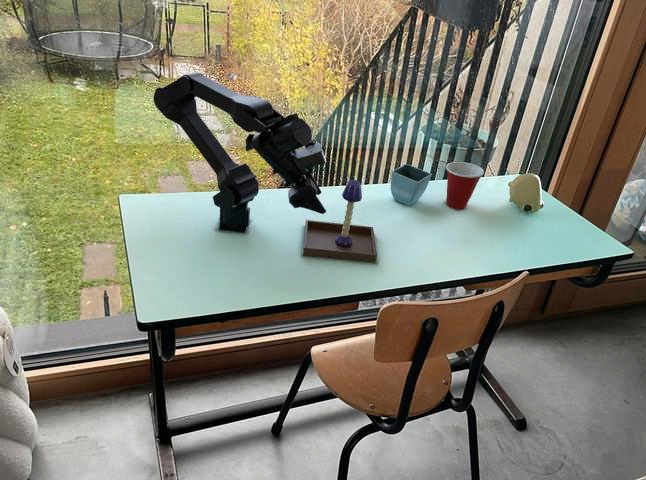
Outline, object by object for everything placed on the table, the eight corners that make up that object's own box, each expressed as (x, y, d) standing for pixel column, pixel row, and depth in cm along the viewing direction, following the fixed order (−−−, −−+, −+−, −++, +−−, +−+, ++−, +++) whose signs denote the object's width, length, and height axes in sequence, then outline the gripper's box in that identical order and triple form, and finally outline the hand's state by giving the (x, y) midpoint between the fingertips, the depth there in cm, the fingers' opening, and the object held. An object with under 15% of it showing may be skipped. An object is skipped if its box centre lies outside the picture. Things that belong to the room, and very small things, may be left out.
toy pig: (507, 218, 173) (531, 211, 163) (498, 180, 173) (522, 170, 164) (531, 214, 177) (556, 206, 168) (523, 177, 178) (547, 167, 168)
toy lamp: (357, 242, 140) (367, 181, 131) (348, 250, 136) (358, 188, 127) (339, 236, 141) (349, 175, 132) (331, 243, 138) (340, 181, 128)
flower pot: (425, 201, 166) (432, 173, 161) (411, 211, 160) (418, 182, 155) (400, 190, 169) (406, 163, 164) (385, 199, 163) (390, 171, 158)
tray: (302, 255, 132) (303, 247, 131) (304, 227, 143) (305, 219, 142) (375, 263, 135) (376, 255, 133) (371, 234, 145) (373, 226, 144)
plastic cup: (448, 192, 173) (457, 156, 167) (479, 206, 169) (490, 169, 162) (430, 203, 166) (439, 165, 159) (462, 217, 161) (473, 179, 154)
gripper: (311, 150, 114) (356, 202, 123) (302, 117, 129) (343, 165, 138) (269, 183, 117) (316, 231, 126) (265, 146, 132) (308, 192, 141)
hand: (322, 202), depth 132 cm, fingers open, 9 cm apart
